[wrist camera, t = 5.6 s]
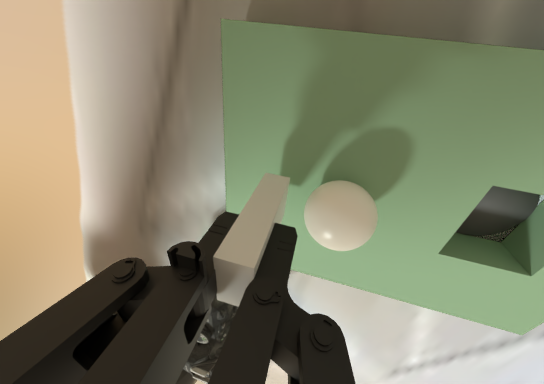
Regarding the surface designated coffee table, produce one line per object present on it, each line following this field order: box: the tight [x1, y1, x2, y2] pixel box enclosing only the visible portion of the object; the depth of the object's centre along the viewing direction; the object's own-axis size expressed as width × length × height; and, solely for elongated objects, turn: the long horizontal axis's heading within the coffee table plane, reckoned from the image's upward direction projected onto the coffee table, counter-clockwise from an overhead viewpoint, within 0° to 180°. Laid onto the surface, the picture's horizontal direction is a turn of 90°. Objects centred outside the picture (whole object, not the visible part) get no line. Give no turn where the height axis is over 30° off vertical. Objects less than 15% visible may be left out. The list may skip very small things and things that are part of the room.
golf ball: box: [304, 180, 378, 251], centre depth 12 cm, size 4×4×4 cm
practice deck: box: [221, 19, 544, 335], centre depth 14 cm, size 24×17×3 cm
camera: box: [183, 293, 238, 384], centre depth 23 cm, size 13×10×10 cm
